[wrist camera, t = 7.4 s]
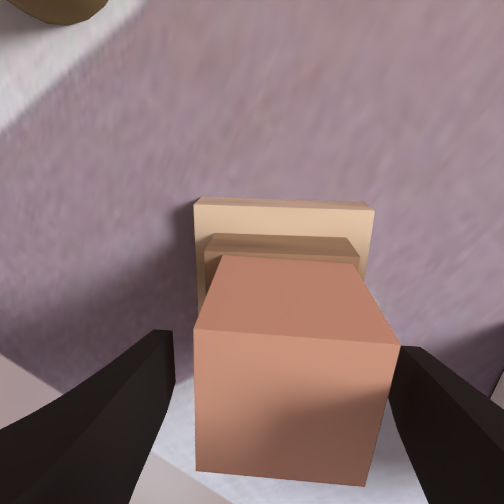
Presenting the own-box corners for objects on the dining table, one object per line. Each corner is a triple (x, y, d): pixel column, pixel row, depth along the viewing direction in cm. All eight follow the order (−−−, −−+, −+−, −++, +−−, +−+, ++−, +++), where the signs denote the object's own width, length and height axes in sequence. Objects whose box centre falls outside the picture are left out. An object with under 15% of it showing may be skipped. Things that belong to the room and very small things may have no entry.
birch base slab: (342, 333, 19) (351, 361, 17) (208, 326, 20) (199, 352, 17) (360, 199, 17) (374, 210, 14) (204, 194, 17) (193, 204, 15)
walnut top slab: (333, 348, 17) (342, 383, 14) (217, 342, 17) (208, 375, 15) (346, 237, 15) (360, 256, 12) (214, 232, 15) (204, 251, 13)
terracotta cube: (334, 369, 14) (364, 487, 10) (220, 360, 14) (195, 471, 10) (352, 263, 12) (400, 344, 8) (222, 254, 13) (193, 328, 8)
